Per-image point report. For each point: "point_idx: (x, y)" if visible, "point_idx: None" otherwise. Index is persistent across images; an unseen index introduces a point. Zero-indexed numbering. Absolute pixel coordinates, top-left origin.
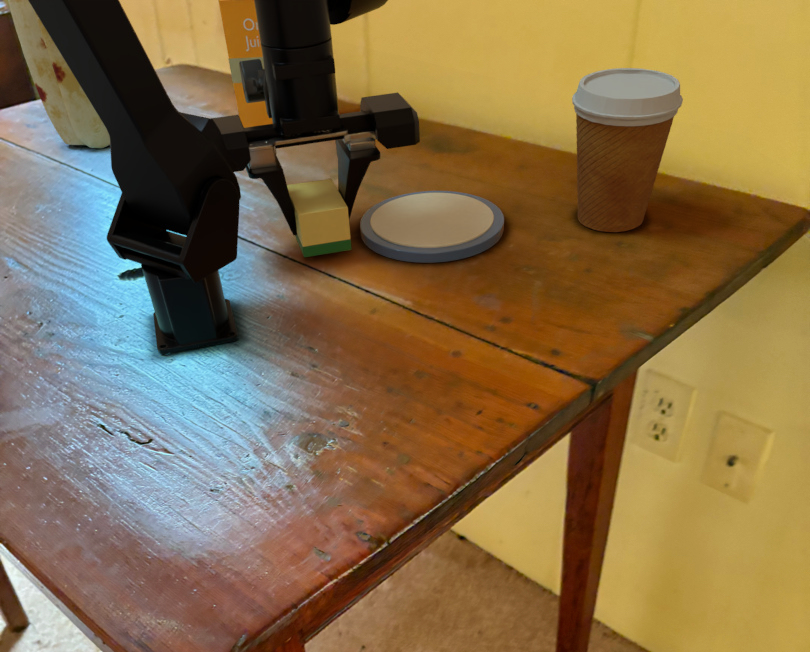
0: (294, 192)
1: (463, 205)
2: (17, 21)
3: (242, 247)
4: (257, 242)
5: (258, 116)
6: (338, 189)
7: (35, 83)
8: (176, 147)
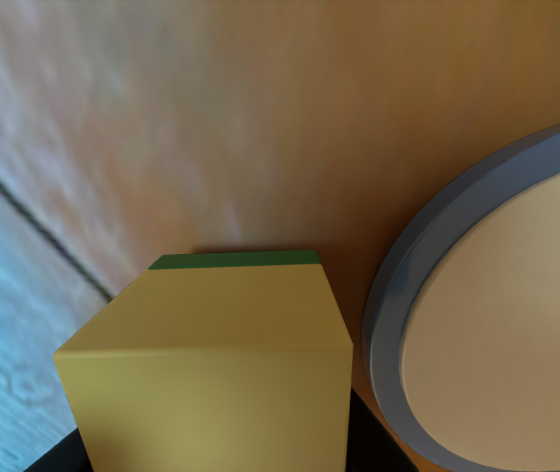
0: (116, 450)
1: None
2: None
3: (28, 260)
4: (70, 244)
5: None
6: (349, 468)
7: None
8: None
